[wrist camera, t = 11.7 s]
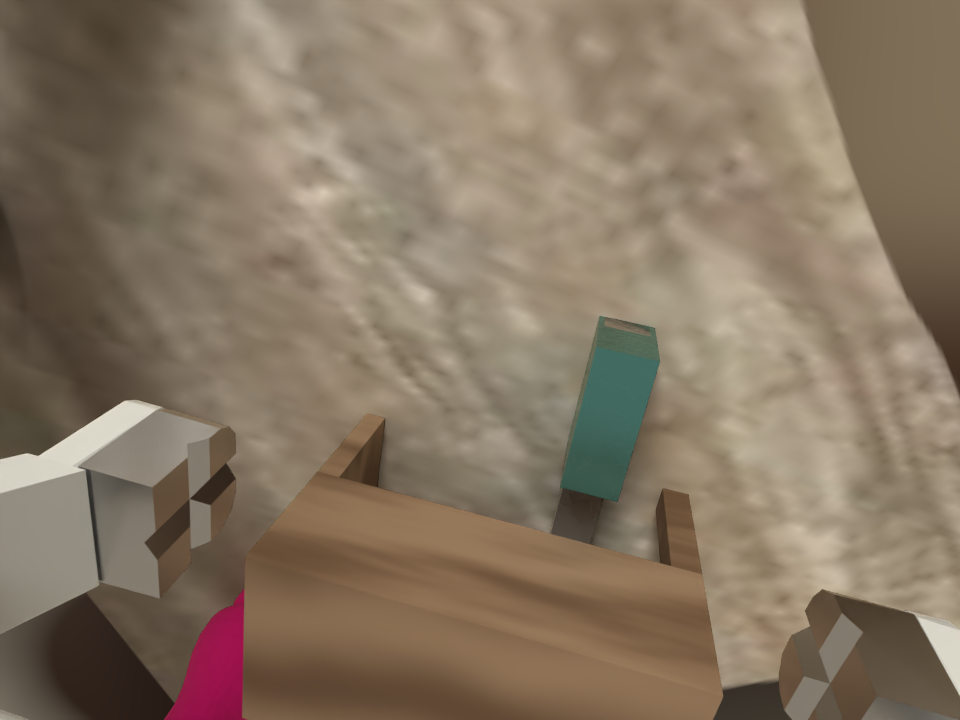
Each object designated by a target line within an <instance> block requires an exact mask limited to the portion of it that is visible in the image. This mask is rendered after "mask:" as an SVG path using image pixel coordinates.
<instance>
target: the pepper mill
mask: <svg viewBox="0 0 960 720" xmlns="http://www.w3.org/2000/svg"><path fill="white" fill-rule="evenodd" d="M244 591H245V588H244V589H243V591H242V592H241V593H240V595H239V596H238V597H237V598H236V600H235V602H234V605H233V606H230V607H227V608H224V609H222V610H221V611H219V612H218V613H217V614H215V615H214V616H213V617H212V618H211V620H210V621H209V622H208V624H207V625H206V627H205V628H204V630H203V631H202V633H201V634H200V636H199V638H198V641H197V643H196V645H195V647H194V650H193V652H192V655H191V659H190V662H189V666H188V670H187V673H186V677H185V680H184V683H183V687H182V689H181V692H180V694H179V696H178V698H177V700H176V702H175V704H174V706H173V707H172V709H171V710H170V712H169V713H168V715H167V716H166V718H165V719H164V720H247V719H244V718H242V703H243V647H244Z"/></svg>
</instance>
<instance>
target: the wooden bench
mask: <svg viewBox="0 0 960 720" xmlns="http://www.w3.org/2000/svg"><path fill="white" fill-rule="evenodd" d="M384 424H385V418H382V417H378V416H374V415H370V414H366V415H365V417H364V418H363V419H362V420H361V421H360V423H359V424H358V425H357V426H356V427H355V428H354V430H353V431H352V432H351V433H350V434H349V435H348V437H347V438H346V439H345V440H344V441H343V442H342V444H341V445H340V446H339V447H338V448H337V450H336V451H335V452H334V453H333V454H332V455H331V457H330V458H329V459H328V460H327V461H326V462H325V464H324V465H323V466H322V467H321V468H320V470H319V471H318V472H317V473H316V474H315V475H314V477H313V478H312V479H311V480H310V481H309V482H308V484H307V485H306V486H305V487H304V488H303V489H302V491H301V492H300V493H299V494H298V495H297V497H296V498H295V499H294V500H293V501H292V502H291V504H290V505H289V506H288V507H287V508H286V509H285V511H284V512H283V513H282V514H281V515H280V517H279V518H278V519H277V520H276V521H275V522H274V524H273V525H272V526H271V527H270V528H269V529H268V531H267V532H266V533H265V534H264V535H263V536H262V538H261V539H260V540H259V541H258V542H257V544H256V545H255V546H254V547H253V548H252V549H251V551H250V552H249V553H248V554H247V555H246V556H245V591H244V647H243V703H242V718H244V719H247V720H713V718H714V716H715V714H716V711H717V709H718V707H719V704H720V703H721V700H722V698H723V692H722V686H721V680H720V674H719V669H718V663H717V657H716V651H715V645H714V640H713V634H712V628H711V622H710V616H709V611H708V605H707V599H706V593H705V587H704V582H703V576H702V570H701V564H700V558H699V553H698V547H697V541H696V535H695V529H694V524H693V518H692V512H691V506H690V500H689V495H687V494H684V493H680V492H676V491H672V490H668V489H664V488H663V489H662V492H661V495H660V498H659V501H658V504H657V508H656V515H657V527H658V539H659V551H660V563H658V562H654V561H650V560H646V559H643V558H639V557H635V556H631V555H628V554H624V553H620V552H616V551H613V550H609V549H605V548H602V547H598V546H594V545H590V544H587V543H583V542H579V541H575V540H572V539H568V538H564V537H560V536H557V535H553V534H549V533H546V532H542V531H538V530H534V529H531V528H527V527H523V526H519V525H516V524H512V523H508V522H504V521H501V520H497V519H493V518H490V517H486V516H482V515H478V514H475V513H471V512H467V511H463V510H460V509H456V508H452V507H448V506H445V505H441V504H437V503H434V502H430V501H426V500H422V499H419V498H415V497H411V496H407V495H404V494H400V493H396V492H392V491H389V490H385V489H381V488H378V487H377V484H378V475H379V467H380V458H381V450H382V441H383V432H384Z"/></svg>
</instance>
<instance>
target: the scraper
mask: <svg viewBox="0 0 960 720" xmlns="http://www.w3.org/2000/svg"><path fill="white" fill-rule="evenodd" d="M659 363H660V358H659V351H658V345H657V338H656V332H655V328H653V327H648V326H644V325H639V324H635V323H630V322H626V321H621V320H617V319H612V318H608V317H603V316H600V317H599V320H598V324H597V328H596V332H595V336H594V340H593V344H592V348H591V352H590V356H589V360H588V364H587V368H586V372H585V376H584V380H583V384H582V388H581V392H580V396H579V399H578V403H577V407H576V411H575V415H574V419H573V423H572V427H571V431H570V435H569V439H568V444H567V450H566V456H565V462H564V467H563V473H562V479H561V485H560V487H561V491H560V495H559V498H558V502H557V506H556V510H555V514H554V518H553V522H552V526H551V530H550V534H553V535H557V536H560V537H564V538H568V539H572V540H575V541H579V542H583V543H587V544H590V543H591V539H592V536H593V532H594V529H595V526H596V522H597V519H598V515H599V512H600V508H601V505H602V501H603V498H604V499H608V500H612V501H615V502H618V498H619V495H620V492H621V489H622V485H623V482H624V479H625V475H626V472H627V469H628V465H629V462H630V459H631V455H632V452H633V449H634V446H635V442H636V439H637V436H638V432H639V429H640V426H641V422H642V419H643V416H644V413H645V409H646V406H647V403H648V399H649V396H650V393H651V389H652V386H653V383H654V379H655V376H656V373H657V370H658V366H659Z"/></svg>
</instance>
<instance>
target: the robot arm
mask: <svg viewBox="0 0 960 720" xmlns="http://www.w3.org/2000/svg"><path fill="white" fill-rule="evenodd" d="M235 454H236V436H235V432H234V431H233V430H232V429H231V428H230V427H228V426H225V425H221V424H218V423H215V422H211V421H208V420H205V419H201V418H198V417H195V416H191V415H188V414H185V413H181V412H178V411H174V410H171V409H165V408H163V407H160V406H156V405H153V404H149V403H146V402H142V401H139V400H127V401H124V402H122V403H120V404H119V405H117V406H116V407H114V408H113V409H111V410H110V411H108V412H106V413H105V414H103V415H102V416H100V417H99V418H97V419H95V420H94V421H92V422H91V423H89V424H88V425H86V426H85V427H83V428H81V429H80V430H78V431H77V432H75V433H74V434H72V435H70V436H69V437H67V438H66V439H64V440H63V441H61V442H60V443H58V444H56V445H55V446H53V447H52V448H50V449H49V450H47V451H45V452H44V453H42V454H41V455H39V456H36V455H32V454H28V453H26V454H22V455H18V456H13V457H9V458H4V459H0V634H2V633H4V632H5V631H8V630H10V629H12V628H14V627H16V626H18V625H20V624H22V623H24V622H26V621H28V620H30V619H32V618H34V617H36V616H38V615H40V614H42V613H44V612H46V611H48V610H50V609H52V608H54V607H57V606H59V605H60V604H63V603H64V602H66V601H69V600H71V599H73V598H75V597H77V596H79V595H81V594H83V593H85V592H87V591H89V590H91V589H93V588H95V587H97V586H99V582H102V583H105V584H109V585H113V586H116V587H120V588H123V589H127V590H131V591H134V592H138V593H142V594H145V595H149V596H153V597H156V598H161V596H162V595H163V594H164V593H165V592H166V591H167V590H168V589H169V588H170V586H171V585H172V584H173V583H174V582H175V581H176V580H177V579H178V577H179V576H180V575H181V574H182V573H183V572H184V571H185V570H186V569H187V567H188V566H189V565H190V564H191V549H192V548H195V547H197V546H200V545H202V544H205V543H207V542H210V541H211V540H212V539H213V538H214V537H215V536H216V534H217V533H218V532H219V531H220V530H221V528H222V527H223V525H224V523H225V521H226V519H227V517H228V515H229V513H230V511H231V509H232V506H233V502H234V498H235V493H236V478H235V476H234V475H233V473H232V471H231V470H230V468H229V467H228V465H227V462H228V461H229V460H230V459H231V458H232V457H233V456H234V455H235ZM805 612H806V615H807V618H808V621H809V624H810V627H808V628H806V629H804V630H801V631H799V632H797V633H795V634H793V635H791V637H790V639H789V641H788V643H787V645H786V647H785V649H784V651H783V653H782V659H781V665H780V671H779V685H780V694H781V698H782V703H783V707H784V710H785V712H786V713H787V714H788V715H789V716H790V718H791V719H792V720H960V630H959V629H958V628H957V627H956V626H954V625H953V624H952V623H950V622H949V621H947V620H943V619H939V618H935V617H931V616H927V615H923V614H919V613H915V612H911V611H906V610H905V611H901V610H897V609H894V608H890V607H886V606H883V605H879V604H875V603H871V602H868V601H864V600H860V599H857V598H853V597H849V596H845V595H842V594H838V593H834V592H830V591H827V590H823V589H822V590H821V591H820V592H819V593H817V594H816V595H815V596H813V598H812V600H811V601H810V603H809V605H808V607H807V608H806V610H805ZM0 720H30V719H27V718H24V717H21V716H18V715H15V714H12V713H9V712H6V711H3V710H0Z"/></svg>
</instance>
